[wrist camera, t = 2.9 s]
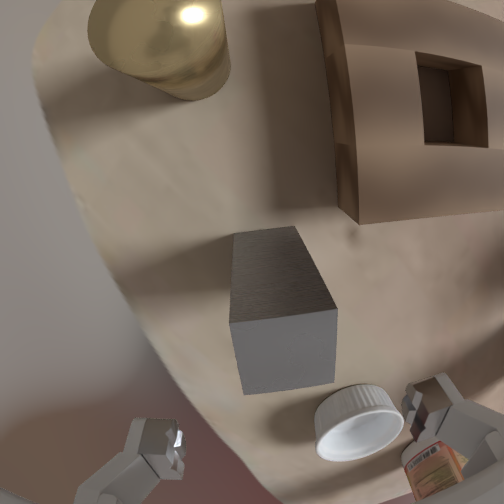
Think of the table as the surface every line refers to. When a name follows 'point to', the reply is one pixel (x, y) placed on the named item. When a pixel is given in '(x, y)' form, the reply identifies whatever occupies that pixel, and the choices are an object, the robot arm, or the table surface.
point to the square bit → (280, 313)
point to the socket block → (413, 107)
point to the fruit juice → (432, 467)
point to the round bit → (164, 43)
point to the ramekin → (355, 423)
